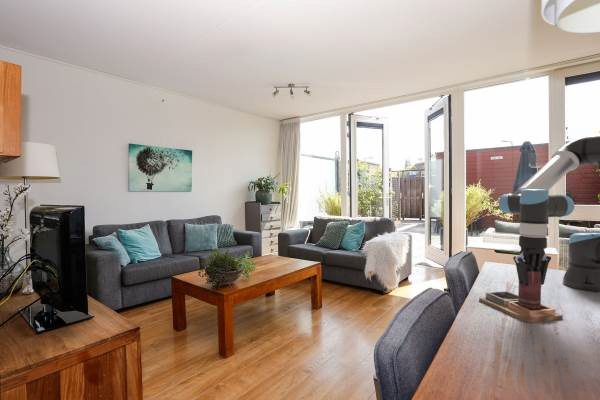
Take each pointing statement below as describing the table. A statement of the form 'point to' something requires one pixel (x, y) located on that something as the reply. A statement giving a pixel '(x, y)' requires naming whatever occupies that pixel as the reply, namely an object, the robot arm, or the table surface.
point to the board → (518, 307)
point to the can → (531, 292)
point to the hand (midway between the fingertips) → (530, 305)
